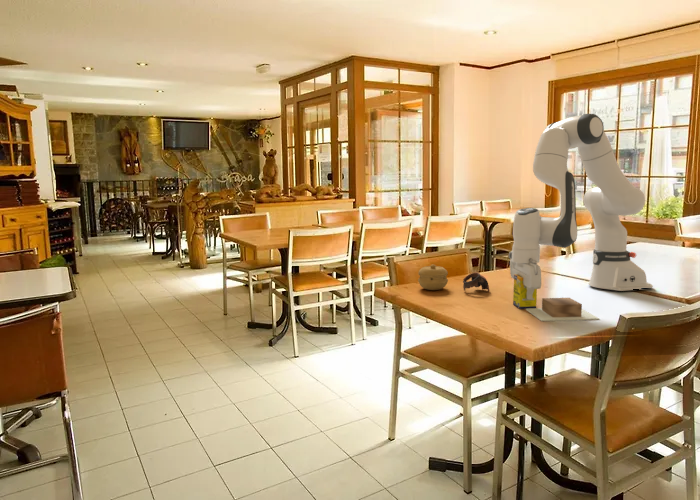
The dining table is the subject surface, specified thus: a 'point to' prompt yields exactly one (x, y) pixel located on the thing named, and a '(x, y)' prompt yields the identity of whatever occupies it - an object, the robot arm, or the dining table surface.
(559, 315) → the walnut slab
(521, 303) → the supplement box
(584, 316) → the mat
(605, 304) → the dining table surface
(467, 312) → the dining table surface
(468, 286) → the brown ceramic rounded piece
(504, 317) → the dining table surface
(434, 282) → the pot
